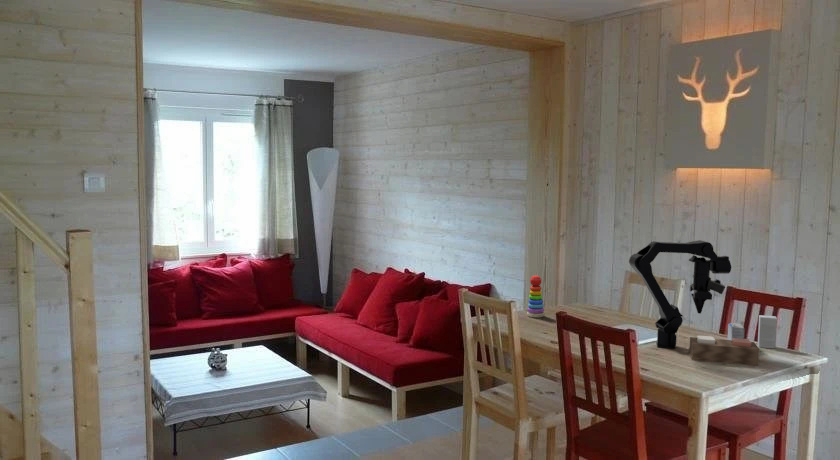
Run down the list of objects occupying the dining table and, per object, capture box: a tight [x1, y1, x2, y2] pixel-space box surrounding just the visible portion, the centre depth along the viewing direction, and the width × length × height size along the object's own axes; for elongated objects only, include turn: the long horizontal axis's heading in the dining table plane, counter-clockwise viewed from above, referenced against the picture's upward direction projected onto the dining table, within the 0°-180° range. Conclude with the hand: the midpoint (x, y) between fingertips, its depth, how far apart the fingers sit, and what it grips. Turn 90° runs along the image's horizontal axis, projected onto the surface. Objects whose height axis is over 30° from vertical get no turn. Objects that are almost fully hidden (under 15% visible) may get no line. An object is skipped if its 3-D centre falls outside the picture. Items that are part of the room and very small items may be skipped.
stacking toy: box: [526, 275, 545, 318], centre depth 322 cm, size 8×8×19 cm
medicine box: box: [726, 322, 745, 340], centre depth 273 cm, size 8×4×9 cm, turn 168°
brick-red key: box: [732, 338, 752, 347], centre depth 255 cm, size 6×6×4 cm
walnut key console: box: [688, 336, 760, 366], centre depth 257 cm, size 22×10×6 cm, turn 75°
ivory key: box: [696, 335, 716, 344], centre depth 258 cm, size 6×6×4 cm
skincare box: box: [757, 314, 778, 349], centre depth 275 cm, size 6×4×12 cm
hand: (699, 313), depth 273 cm, fingers closed
